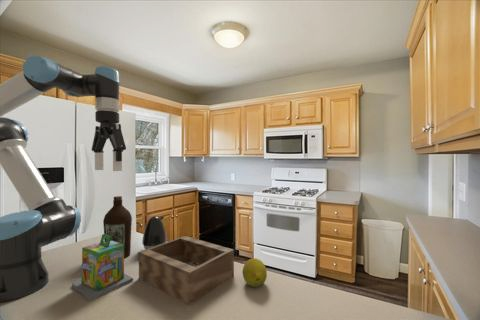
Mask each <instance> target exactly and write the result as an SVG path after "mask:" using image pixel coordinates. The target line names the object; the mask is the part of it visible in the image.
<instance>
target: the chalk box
mask: <svg viewBox="0 0 480 320" xmlns="http://www.w3.org/2000/svg"><path fill="white" fill-rule="evenodd" d="M105 238H106V239H107V241H105V240H104V239H105ZM81 253H82V254H81V280H82V282H81V283H83V284H85V285H87V286H89V287H91V288H93V289H95V290H96V291H98V290H100V289H102V288H104V287H106V286H108V285H110V284H112V283H115V282H117V281H119V280H121V279H123V278H124V274H125V258H124V244H121V243H118V242H115V241H112V240H111V236H109V235H105V234H104V233H102V235H101V237H100V242H97V243H94V244H90V245H87V246H84V247H82V250H81Z"/></svg>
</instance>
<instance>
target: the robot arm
mask: <svg viewBox="0 0 480 320" xmlns="http://www.w3.org/2000/svg"><path fill="white" fill-rule="evenodd" d="M119 75H120V74H119V71H118V70H116V69H115V68H113V67H110V66H106V65H105V66H104V65H99V66H97V67H95V70H94V73H93V74H91V73H90V74H81V73H79V72H77V71H75V70H73V69H71V68H68V67H66V66H64V65H62V64H59V63H57V62H55V61H54V60H52V59H50V58H47V57H43V56H41V55H37V54H32V55H29V56H28V57H26V58H25V61H23V63H22V71H21V72H19V73H17V74H15V75H13V76H12V77H10V78H9V79H7V80H4V81H3V82H1V83H0V165H1V168H2V169H3V171H4V172H5V174H6V175H7V177H8V179H9V181H10V182H11V183H12V185H13V187H14V188H15V190H16V191H17V193H18V194H19V196H20V197H21V200H22V201H23V203H24V205H25V206H26V208H27V209H28V210H21V211H19V212H12V213H8V214H5V215H3V216H0V303H3V302H8V301H9V302H10V301H13V300H17V299H20V298H22V297H26V296H28V295H31V294H33V293H35V292H37V291H39V290H41V289H42V288H44V287H45V286H46V285H47V284H48V282H49V272H48V270H47V268H46V266H45V263H44V261H43V259H42V247H44V246H48V245H50V244H53V243H55V242H57V241H60V240H63V239H66V238H67V237H70V236H72V235H74V234H75V233H77V231H78V230H79V229H80V226H81V222H82V216H81V212H80V211H79V209H78V208H77V207H76V206H73V205H67V203H66V202H65V201H64V199H63V198H59V197H56V195H55V194H54V192H53V191H52V189H51V187H50V186H49V185H48V183H47V181H46V179H45V178H44V177H43V175H42V173H41V171H40V170H39V168H38V167H37V166H36V163H35V162H34V161H33V159H32V158H31V156H30V154H29V153H28V151H27V150H26V149H25V148H27V146H28V140H29V137H28V135H29V133H28V129H27V128H26V127H25V125H24V124H23V123H21V122H20V121H18V120H15V119H11V118H8V117H4V116H5V115H6V114H8V113H10V112H12V111H14V110H17V108H19V107H21V106H23V105H24V104H26V103H28V102H30V101H32V100H34V99H35V98H38V97H39V96H41V95H43V94H45V93H46V92H47V93H48V91H50V90H53V89H58V90H60V91H62V92H63V93H64V94H65V95H66V96H69V97H76V98H83V97H95V98H94V101H95V103H94V105H95V106H94V107H95V108H94V109H95V110H96V111H95V115H94V116H95V122H97V123H99V124H100V125H96V126H95V130H94V137H93V141H92V144H91V145H92V146H91V151H92V152H93V153H94V171H104V153H105V152H104V147H105V145H106V144H107V143H106V142H107V140H108V139H109V142H110V145H111V146H112V149H113V150H112V172H122V171H123V152H124V151H125V150H127V147H126V142H125V139H124V135H123V132H122V124H121V123H120V113H119V112H120V106H121V105H120V76H119ZM2 116H3V117H2Z"/></svg>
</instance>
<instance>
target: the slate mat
mask: <svg viewBox="0 0 480 320" xmlns="http://www.w3.org/2000/svg"><path fill="white" fill-rule="evenodd" d="M133 281H134V278H133V277H132V276H130V275H127V274H126V273H124V278H123V279H121V280H119V281H117V282H115V283H112V284H110V285H108V286H106V287H104V288H102V289H100V290H98V291H96V290H95V289H93V288H91V287H89V286H87V285H85V284H83V283H81V282H82V279H80V280H77V281H74V282H72V283H71V286H72V288H74V289H75V290H76V291H77V292H79V293H80V294H81V295H83V297H84V298H86V299H88V300H89V301H92V300H94V299H97V298H99V297H101V296H103V295H105V294H107V293H110V292H112V291H114V290H116V289H118V288H121V287H123V286H125V285H127V284H129V283H132V282H133Z"/></svg>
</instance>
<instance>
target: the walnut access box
mask: <svg viewBox="0 0 480 320" xmlns="http://www.w3.org/2000/svg"><path fill="white" fill-rule="evenodd" d="M234 252H235V249H234V248H229V247H225V246H222V245H219V244H215V243H212V242H208V241H205V240H201V239H197V238H193V237H191V236H186V235H183V236H180V237H178V238H177V237H176V238H175V239H172V240H169V241H166V243H163V244H160V245H157V246H154V247H151V248H149V249H143V250H140V251H138V279H140V280H142V281H144V282H145V283H147V284H150V286H153V287H155V288H157V289H159V290H161V291H163V292H165V294H166V293H167V294H168V295H170V296H172V297H174V298H176V299H178V300H180V301H182V302H184V303H185V304H187V305H189V306H191V305H192V304H193V303H195V302H197V301H198V300H199V299H201V298H202V297H204V296H205V295H207V294H208V293H210V292H211V291H213V290H214V289H216V288H217V287H219V286H220V285H221V284H223V283H225V282H226V281H228V280H229V279H230V278H232V277H234V276H235V264H234V263H235V262H234V261H235V259H234V258H235V253H234ZM184 260H186V261H189V262H191V263H194V264H197V266H193V265H190V264H189V263H188V264H187V263H185V262H183V261H184Z"/></svg>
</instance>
